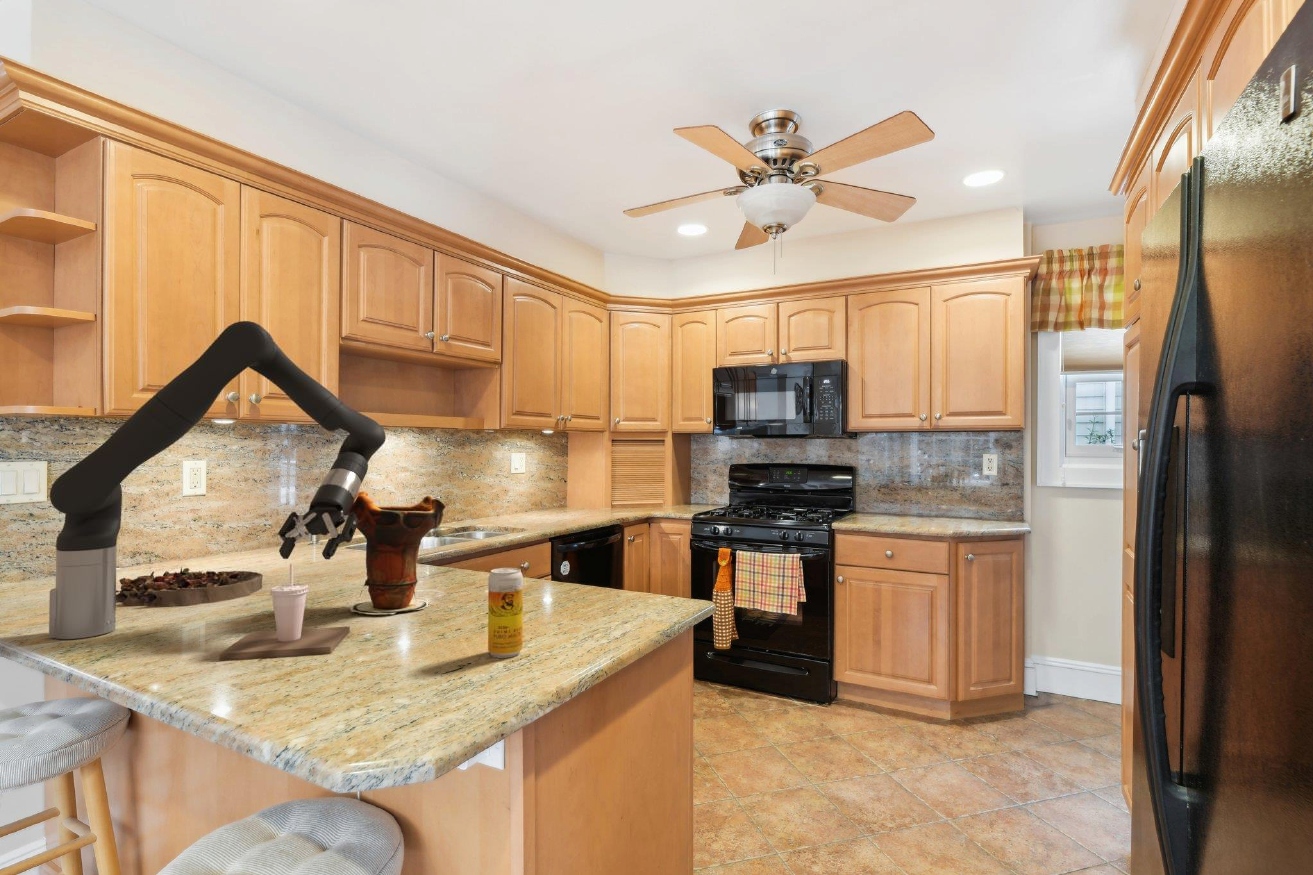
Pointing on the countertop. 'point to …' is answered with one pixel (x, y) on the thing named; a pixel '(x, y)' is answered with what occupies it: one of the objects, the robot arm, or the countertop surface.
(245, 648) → the walnut board
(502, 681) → the countertop surface
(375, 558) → the decorative vase
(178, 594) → the food dish
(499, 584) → the beer can
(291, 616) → the smoothie
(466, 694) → the countertop surface
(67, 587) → the robot arm
